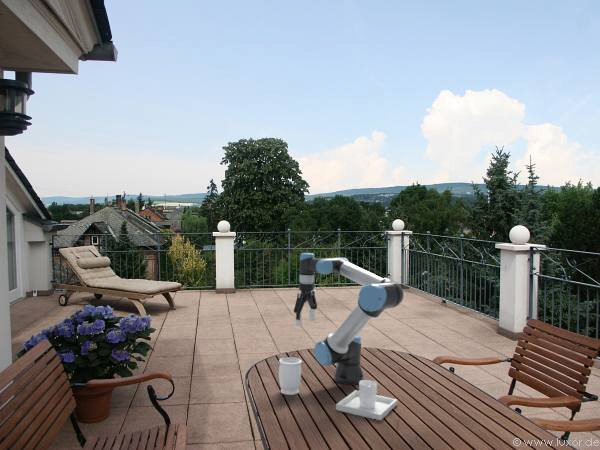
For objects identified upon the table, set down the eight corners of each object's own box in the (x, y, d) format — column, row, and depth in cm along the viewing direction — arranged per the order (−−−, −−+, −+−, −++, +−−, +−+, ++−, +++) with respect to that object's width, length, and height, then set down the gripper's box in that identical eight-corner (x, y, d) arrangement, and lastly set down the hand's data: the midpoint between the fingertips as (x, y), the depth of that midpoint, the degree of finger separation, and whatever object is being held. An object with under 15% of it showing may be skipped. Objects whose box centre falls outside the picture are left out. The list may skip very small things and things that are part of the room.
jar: (303, 390, 224) (304, 358, 224) (296, 397, 214) (297, 364, 214) (282, 386, 228) (283, 355, 227) (274, 394, 218) (275, 361, 218)
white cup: (376, 410, 201) (376, 387, 201) (357, 408, 202) (358, 385, 202) (377, 403, 209) (377, 380, 208) (359, 401, 210) (359, 379, 210)
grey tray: (355, 395, 219) (355, 390, 219) (397, 405, 209) (397, 399, 209) (336, 409, 202) (336, 403, 202) (380, 421, 192) (380, 415, 192)
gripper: (312, 279, 258) (310, 318, 258) (287, 284, 237) (286, 326, 237) (324, 281, 254) (323, 320, 255) (300, 286, 233) (299, 329, 233)
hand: (305, 323), depth 246 cm, fingers open, 13 cm apart
